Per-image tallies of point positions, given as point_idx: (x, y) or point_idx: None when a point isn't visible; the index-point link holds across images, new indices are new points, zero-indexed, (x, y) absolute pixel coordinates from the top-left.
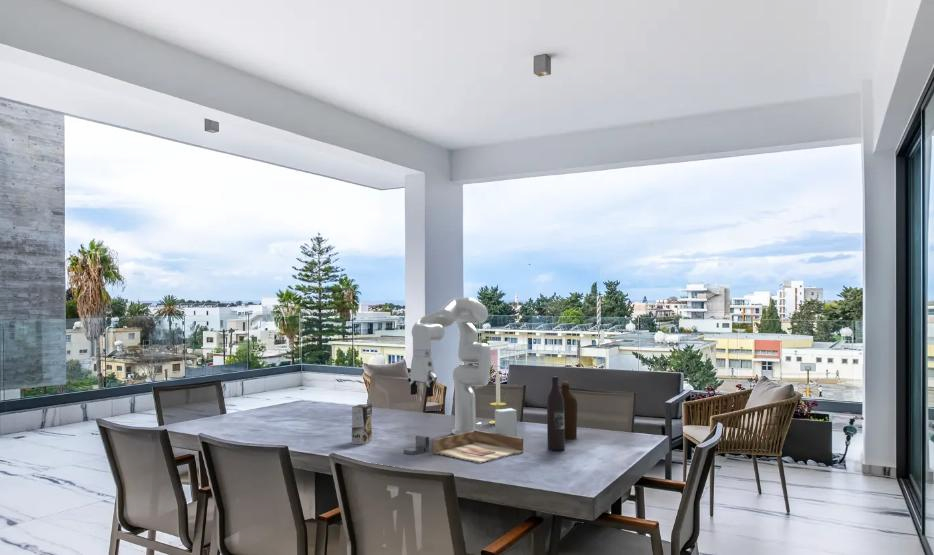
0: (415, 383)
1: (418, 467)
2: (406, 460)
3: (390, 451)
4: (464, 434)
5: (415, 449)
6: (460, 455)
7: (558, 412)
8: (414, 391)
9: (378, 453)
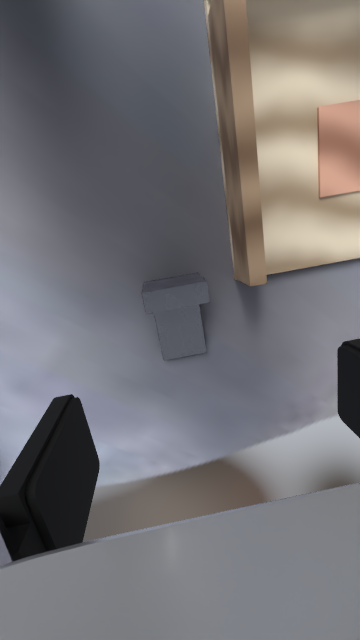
0: (20, 555)
1: None
2: (253, 392)
3: (114, 377)
4: (249, 71)
5: (190, 328)
6: (353, 239)
7: None
8: (83, 458)
9: (117, 418)
